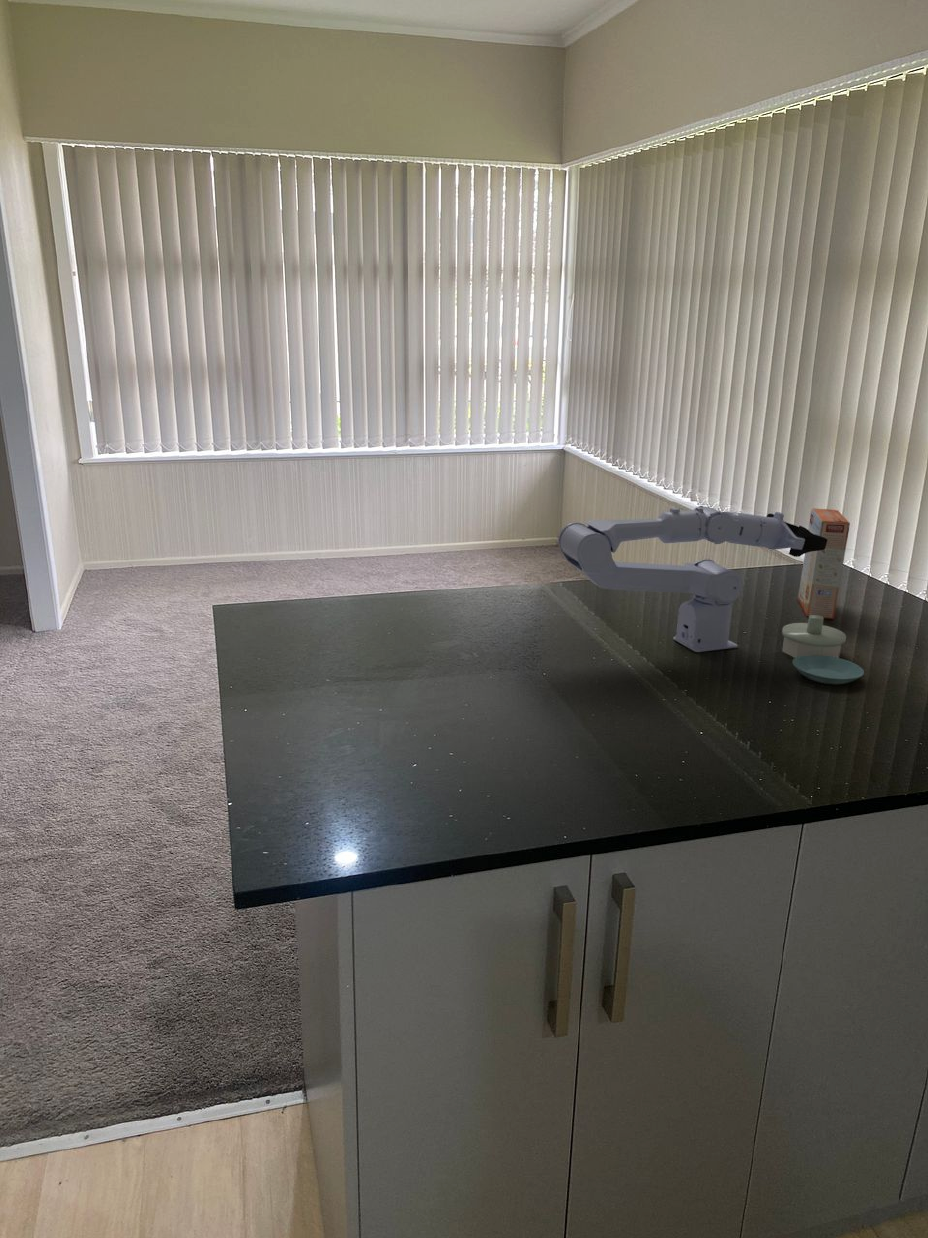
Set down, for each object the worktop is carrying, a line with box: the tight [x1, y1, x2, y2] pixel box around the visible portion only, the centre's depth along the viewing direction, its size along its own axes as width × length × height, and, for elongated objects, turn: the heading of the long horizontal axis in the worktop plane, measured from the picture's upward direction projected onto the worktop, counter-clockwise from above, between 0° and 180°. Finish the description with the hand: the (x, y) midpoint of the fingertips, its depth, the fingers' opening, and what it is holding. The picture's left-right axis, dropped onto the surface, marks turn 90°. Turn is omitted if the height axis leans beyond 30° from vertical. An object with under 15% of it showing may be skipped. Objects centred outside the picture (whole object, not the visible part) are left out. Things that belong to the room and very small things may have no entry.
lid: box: [781, 615, 847, 647], centre depth 176 cm, size 11×11×4 cm
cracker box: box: [797, 508, 851, 620], centre depth 200 cm, size 14×6×21 cm, turn 168°
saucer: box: [792, 655, 865, 686], centre depth 165 cm, size 12×12×2 cm
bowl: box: [781, 636, 842, 659], centre depth 177 cm, size 10×10×3 cm
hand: (812, 538), depth 180 cm, fingers open, 7 cm apart
